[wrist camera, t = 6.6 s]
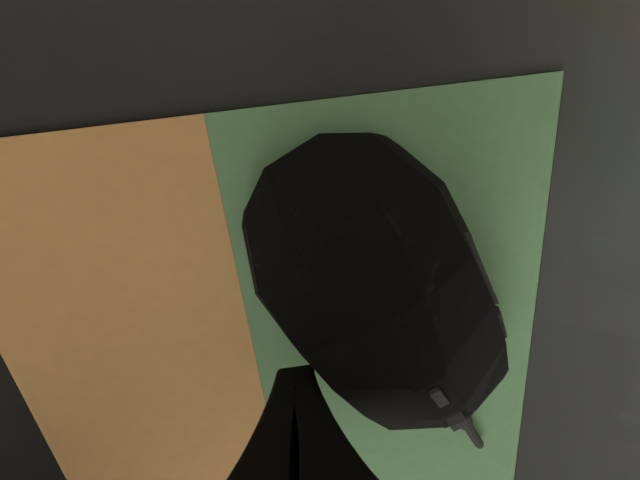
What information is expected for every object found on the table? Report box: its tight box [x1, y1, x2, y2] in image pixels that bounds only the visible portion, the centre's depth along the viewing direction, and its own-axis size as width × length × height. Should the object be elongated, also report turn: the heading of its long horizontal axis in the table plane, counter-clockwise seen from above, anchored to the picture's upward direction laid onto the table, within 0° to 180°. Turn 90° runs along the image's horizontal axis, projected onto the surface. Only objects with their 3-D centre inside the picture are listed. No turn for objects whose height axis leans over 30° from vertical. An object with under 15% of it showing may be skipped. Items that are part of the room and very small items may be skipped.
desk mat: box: [0, 71, 564, 480], centre depth 15 cm, size 20×19×1 cm
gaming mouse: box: [242, 132, 509, 449], centre depth 12 cm, size 6×15×4 cm, turn 32°
